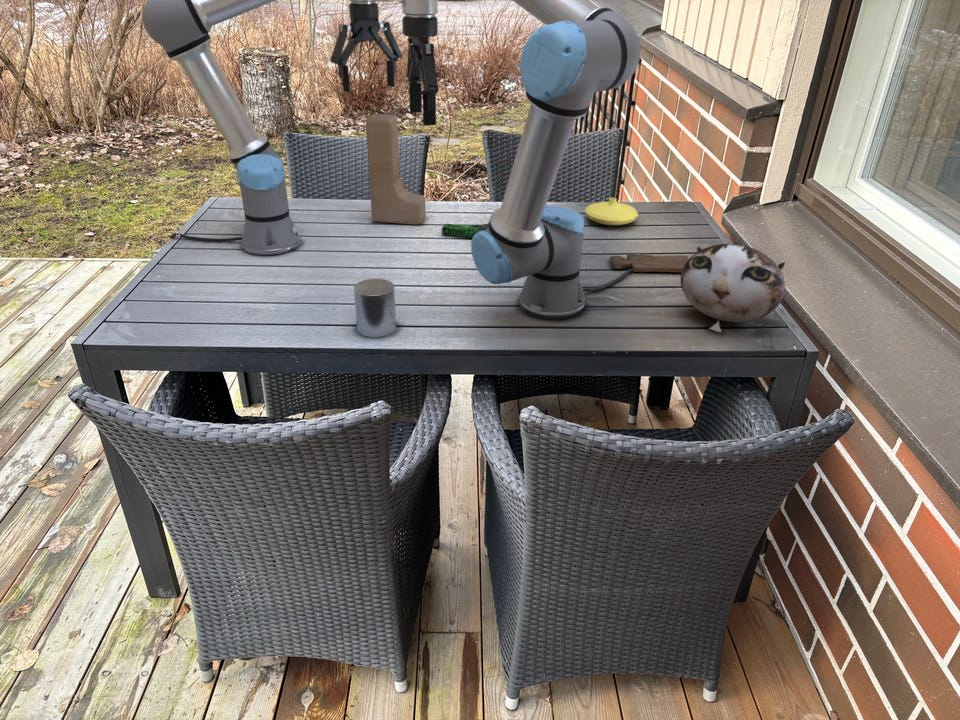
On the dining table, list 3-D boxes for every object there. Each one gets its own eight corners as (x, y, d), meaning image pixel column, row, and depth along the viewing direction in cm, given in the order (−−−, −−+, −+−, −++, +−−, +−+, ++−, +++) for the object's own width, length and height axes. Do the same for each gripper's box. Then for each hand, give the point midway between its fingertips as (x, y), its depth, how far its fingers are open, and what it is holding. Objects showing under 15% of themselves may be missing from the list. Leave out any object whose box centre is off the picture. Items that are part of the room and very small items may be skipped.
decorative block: (420, 225, 212) (417, 121, 196) (371, 222, 213) (364, 118, 198) (426, 217, 218) (423, 115, 203) (378, 214, 220) (371, 113, 204)
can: (366, 340, 152) (362, 298, 147) (351, 324, 158) (347, 283, 153) (402, 331, 155) (400, 290, 150) (387, 316, 162) (384, 275, 157)
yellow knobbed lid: (599, 209, 226) (601, 187, 223) (645, 219, 218) (648, 197, 215) (575, 222, 215) (576, 200, 212) (622, 234, 207) (625, 211, 204)
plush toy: (658, 308, 155) (687, 223, 157) (673, 329, 171) (700, 252, 172) (764, 333, 144) (794, 241, 146) (770, 354, 160) (797, 271, 162)
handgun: (511, 219, 210) (493, 234, 198) (511, 228, 211) (492, 244, 199) (461, 212, 215) (440, 226, 203) (461, 221, 217) (440, 236, 204)
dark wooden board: (713, 276, 184) (704, 260, 192) (715, 269, 183) (705, 255, 191) (613, 272, 184) (608, 257, 192) (614, 266, 183) (609, 251, 192)
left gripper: (324, 5, 176) (333, 95, 187) (412, 1, 189) (415, 86, 200) (312, 3, 182) (321, 91, 193) (398, -1, 194) (402, 82, 205)
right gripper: (391, 10, 161) (395, 108, 172) (415, 21, 141) (419, 131, 152) (423, 10, 163) (425, 106, 174) (452, 21, 143) (453, 129, 154)
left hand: (369, 88), depth 196 cm, fingers open, 13 cm apart
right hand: (422, 118), depth 163 cm, fingers open, 13 cm apart
